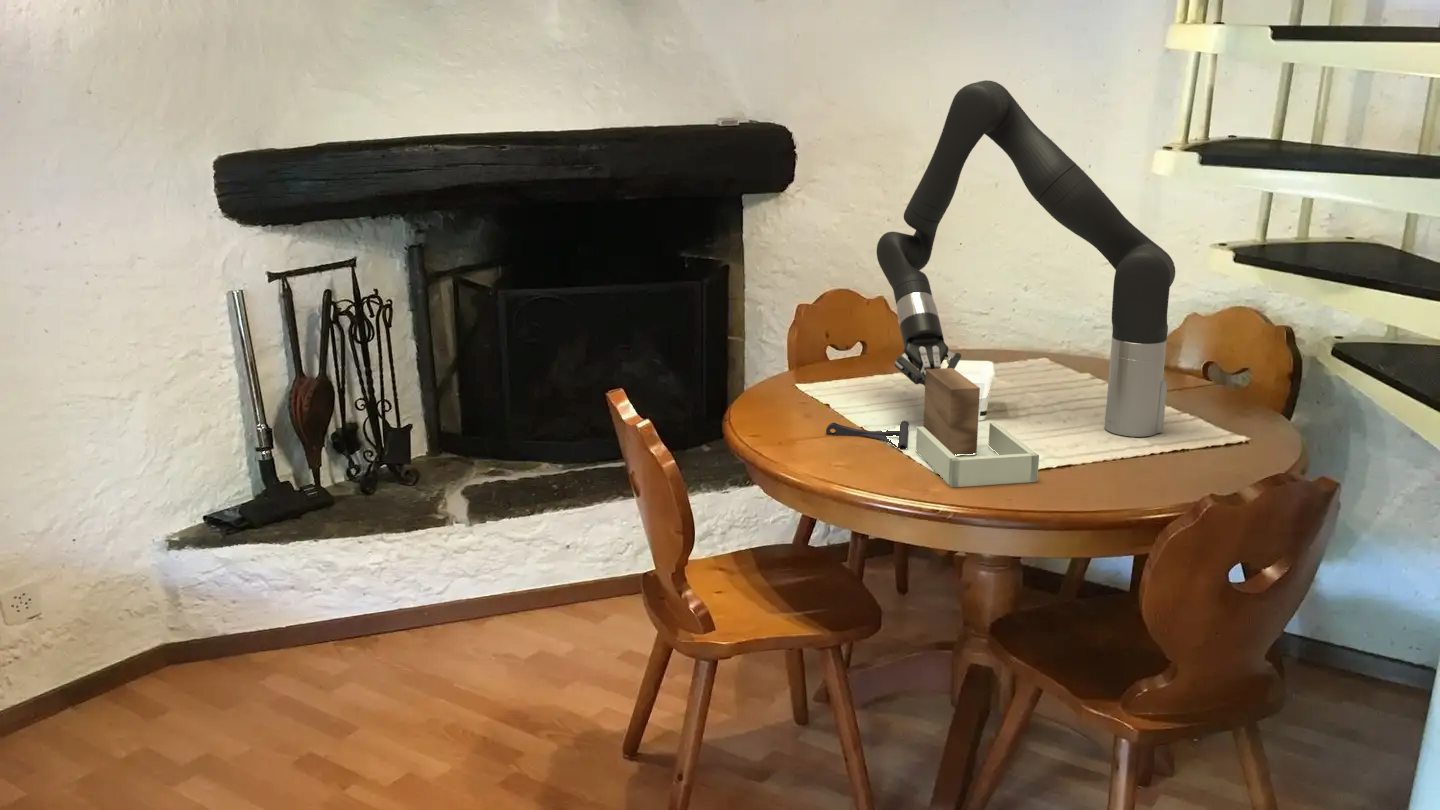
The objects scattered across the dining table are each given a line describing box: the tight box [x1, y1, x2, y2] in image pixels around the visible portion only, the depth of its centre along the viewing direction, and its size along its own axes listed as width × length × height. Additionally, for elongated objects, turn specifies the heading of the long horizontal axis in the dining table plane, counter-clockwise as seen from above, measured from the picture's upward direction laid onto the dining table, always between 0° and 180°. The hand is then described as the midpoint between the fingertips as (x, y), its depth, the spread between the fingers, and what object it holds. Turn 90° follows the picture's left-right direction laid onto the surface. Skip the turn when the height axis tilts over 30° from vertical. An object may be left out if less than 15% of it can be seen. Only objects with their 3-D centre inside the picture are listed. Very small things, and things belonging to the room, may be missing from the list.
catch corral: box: [915, 421, 1040, 488], centre depth 186 cm, size 14×18×4 cm
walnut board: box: [923, 367, 981, 455], centre depth 196 cm, size 5×14×12 cm, turn 8°
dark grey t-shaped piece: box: [825, 420, 910, 449], centre depth 203 cm, size 14×15×3 cm
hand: (937, 401), depth 204 cm, fingers closed
